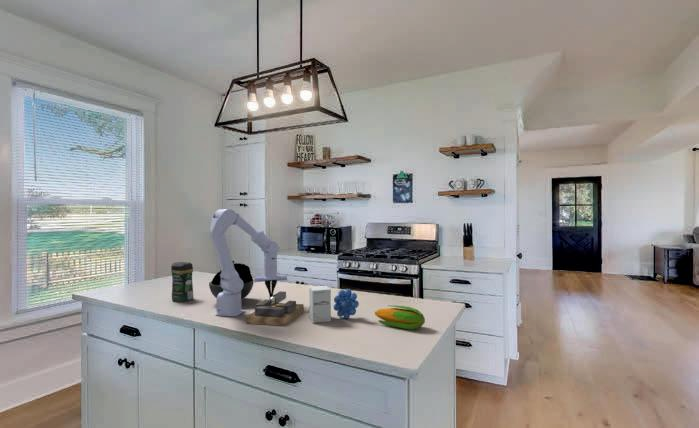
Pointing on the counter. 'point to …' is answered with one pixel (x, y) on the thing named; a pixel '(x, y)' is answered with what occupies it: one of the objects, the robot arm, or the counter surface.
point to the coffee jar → (182, 281)
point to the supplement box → (320, 304)
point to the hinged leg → (278, 297)
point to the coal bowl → (244, 276)
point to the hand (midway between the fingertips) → (271, 296)
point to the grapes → (346, 303)
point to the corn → (401, 317)
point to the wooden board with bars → (274, 313)
